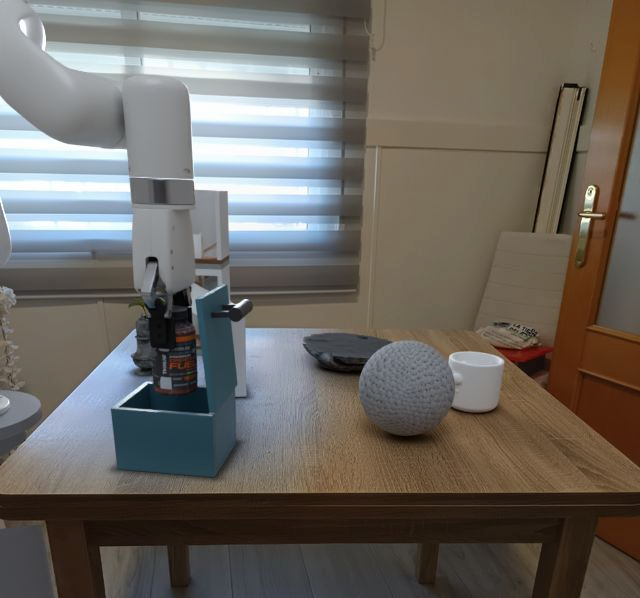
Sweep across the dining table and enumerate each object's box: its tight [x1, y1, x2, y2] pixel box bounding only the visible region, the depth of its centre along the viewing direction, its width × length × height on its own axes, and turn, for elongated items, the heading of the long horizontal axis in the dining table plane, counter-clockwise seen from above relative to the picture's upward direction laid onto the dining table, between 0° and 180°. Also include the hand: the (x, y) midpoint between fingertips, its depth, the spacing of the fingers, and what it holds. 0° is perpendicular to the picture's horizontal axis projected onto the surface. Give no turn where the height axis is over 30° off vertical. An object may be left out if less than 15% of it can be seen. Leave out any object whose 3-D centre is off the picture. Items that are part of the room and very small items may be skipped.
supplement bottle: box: [151, 306, 199, 396], centre depth 77 cm, size 6×6×11 cm
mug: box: [447, 351, 506, 414], centre depth 105 cm, size 12×10×9 cm
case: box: [110, 381, 237, 478], centre depth 81 cm, size 14×12×9 cm
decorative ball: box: [358, 339, 455, 437], centre depth 90 cm, size 15×15×15 cm
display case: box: [190, 189, 231, 355], centre depth 130 cm, size 11×11×35 cm
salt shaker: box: [130, 313, 153, 377], centre depth 116 cm, size 6×6×12 cm
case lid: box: [195, 285, 254, 413], centre depth 75 cm, size 14×12×5 cm
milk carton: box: [203, 299, 247, 398], centre depth 105 cm, size 7×7×19 cm
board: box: [302, 332, 395, 372], centre depth 127 cm, size 22×22×5 cm
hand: (172, 340), depth 76 cm, fingers closed on supplement bottle, 6 cm apart
